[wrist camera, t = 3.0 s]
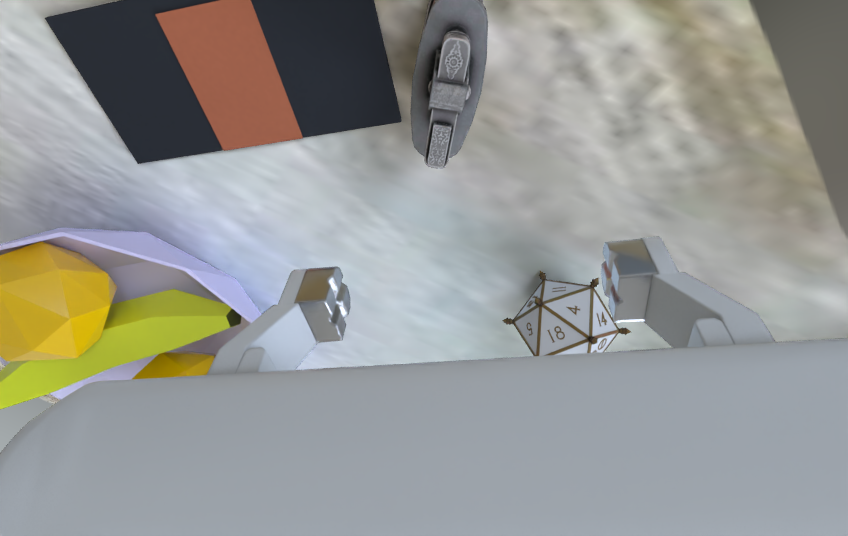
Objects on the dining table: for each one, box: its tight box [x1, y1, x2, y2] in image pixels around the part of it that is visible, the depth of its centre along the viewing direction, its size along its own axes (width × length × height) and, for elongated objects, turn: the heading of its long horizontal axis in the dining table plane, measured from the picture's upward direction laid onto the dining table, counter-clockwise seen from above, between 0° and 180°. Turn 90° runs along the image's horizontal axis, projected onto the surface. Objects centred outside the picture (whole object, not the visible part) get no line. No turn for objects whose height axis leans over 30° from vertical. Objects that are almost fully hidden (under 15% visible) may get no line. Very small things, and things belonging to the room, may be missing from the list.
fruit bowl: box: [0, 227, 262, 409], centre depth 42 cm, size 28×27×11 cm
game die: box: [502, 271, 631, 356], centre depth 39 cm, size 9×8×10 cm
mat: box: [45, 0, 401, 164], centre depth 31 cm, size 20×10×1 cm, turn 101°
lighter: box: [411, 0, 488, 169], centre depth 25 cm, size 8×3×10 cm, turn 172°
